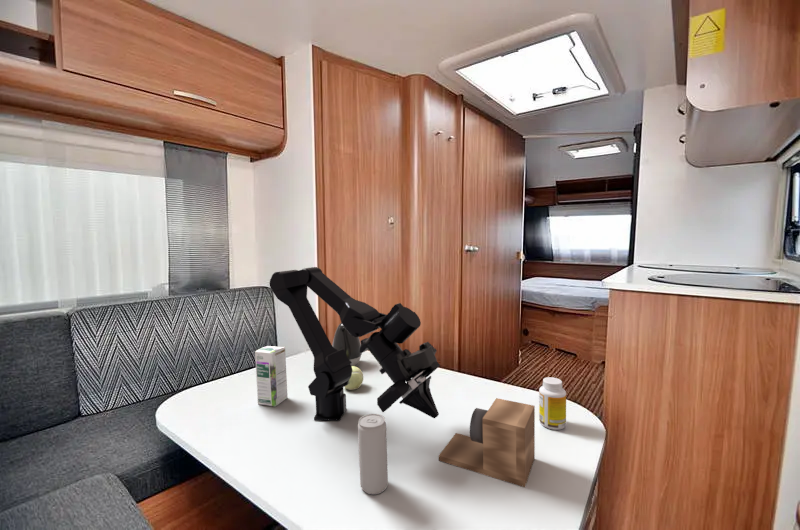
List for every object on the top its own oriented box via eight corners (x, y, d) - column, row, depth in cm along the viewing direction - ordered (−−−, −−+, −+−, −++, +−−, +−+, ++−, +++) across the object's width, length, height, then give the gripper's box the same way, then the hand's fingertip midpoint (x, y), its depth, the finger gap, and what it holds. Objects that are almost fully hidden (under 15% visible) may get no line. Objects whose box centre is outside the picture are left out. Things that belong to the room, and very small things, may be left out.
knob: (469, 447, 67) (469, 416, 67) (479, 431, 73) (479, 402, 72) (516, 460, 63) (516, 427, 63) (523, 442, 68) (523, 412, 68)
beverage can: (384, 498, 60) (381, 428, 59) (356, 494, 61) (353, 426, 60) (390, 478, 64) (388, 414, 64) (365, 476, 65) (362, 412, 64)
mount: (438, 460, 69) (437, 407, 68) (455, 437, 77) (455, 389, 76) (525, 487, 61) (524, 428, 60) (534, 458, 69) (534, 405, 68)
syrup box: (256, 404, 95) (253, 351, 94) (271, 395, 101) (268, 344, 100) (275, 407, 94) (271, 352, 92) (288, 397, 99) (285, 345, 98)
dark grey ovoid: (327, 370, 119) (325, 325, 117) (338, 359, 129) (336, 317, 128) (357, 371, 117) (355, 325, 116) (365, 360, 127) (364, 318, 126)
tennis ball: (337, 364, 105) (350, 370, 100) (355, 362, 109) (369, 367, 104) (335, 387, 104) (348, 393, 99) (354, 383, 109) (367, 389, 104)
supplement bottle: (571, 425, 80) (571, 381, 79) (556, 434, 77) (556, 387, 76) (548, 415, 85) (549, 373, 84) (534, 423, 82) (533, 379, 81)
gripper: (388, 345, 67) (444, 416, 62) (431, 323, 83) (478, 378, 78) (356, 378, 72) (405, 447, 67) (402, 351, 88) (445, 405, 83)
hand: (436, 416), depth 74 cm, fingers closed
